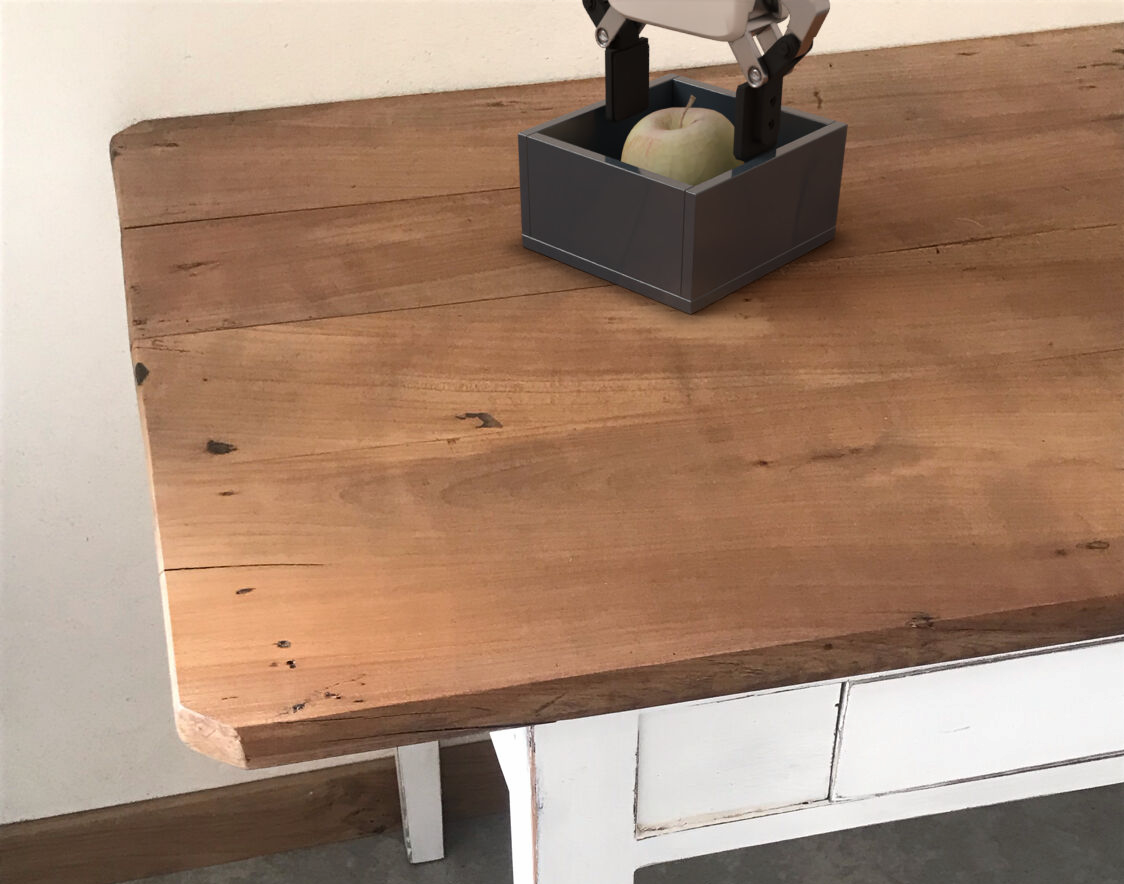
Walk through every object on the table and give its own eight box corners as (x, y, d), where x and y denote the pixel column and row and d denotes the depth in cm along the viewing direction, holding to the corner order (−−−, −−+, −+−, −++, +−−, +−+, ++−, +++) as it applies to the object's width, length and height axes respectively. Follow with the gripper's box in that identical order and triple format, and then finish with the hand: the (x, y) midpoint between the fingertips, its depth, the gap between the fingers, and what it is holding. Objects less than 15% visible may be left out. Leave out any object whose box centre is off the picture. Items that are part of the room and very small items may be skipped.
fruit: (767, 232, 84) (779, 93, 78) (677, 268, 80) (682, 125, 75) (683, 195, 88) (688, 61, 82) (594, 227, 85) (593, 90, 79)
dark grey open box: (835, 238, 85) (848, 123, 80) (690, 314, 78) (696, 194, 73) (667, 181, 92) (671, 72, 87) (521, 246, 85) (517, 132, 80)
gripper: (888, -219, 66) (850, 150, 78) (620, -248, 75) (623, 86, 87) (791, -192, 62) (767, 191, 74) (522, -226, 71) (538, 119, 83)
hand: (689, 134), depth 80 cm, fingers open, 9 cm apart
